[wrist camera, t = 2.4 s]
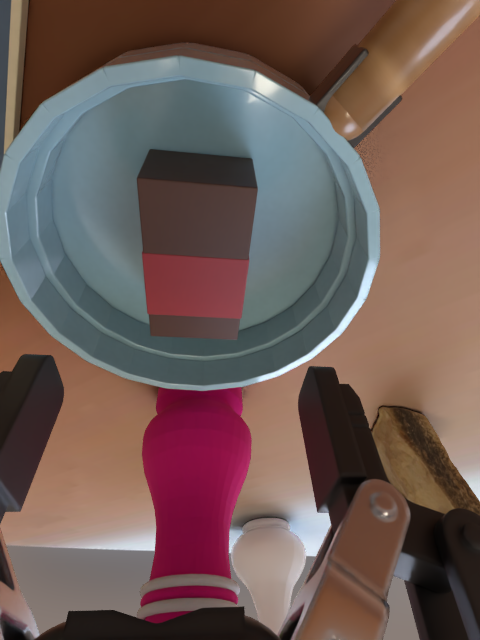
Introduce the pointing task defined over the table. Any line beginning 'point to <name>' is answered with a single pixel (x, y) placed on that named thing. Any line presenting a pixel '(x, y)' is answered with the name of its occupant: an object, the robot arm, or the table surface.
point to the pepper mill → (193, 499)
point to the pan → (125, 228)
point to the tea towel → (11, 68)
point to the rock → (420, 462)
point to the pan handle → (390, 62)
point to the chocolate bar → (196, 241)
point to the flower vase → (269, 567)
